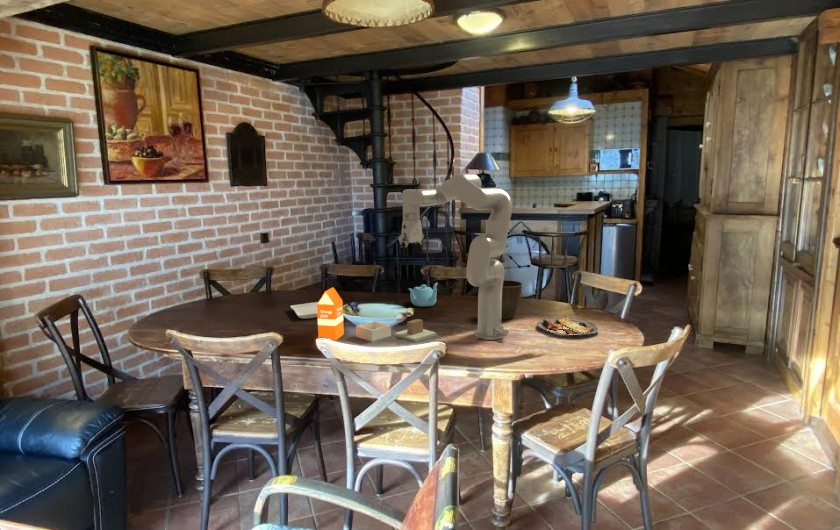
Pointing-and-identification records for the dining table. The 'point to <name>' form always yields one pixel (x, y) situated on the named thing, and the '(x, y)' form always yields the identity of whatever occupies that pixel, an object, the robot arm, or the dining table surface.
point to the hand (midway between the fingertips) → (411, 254)
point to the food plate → (567, 325)
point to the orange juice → (330, 315)
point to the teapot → (423, 295)
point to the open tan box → (373, 331)
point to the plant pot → (510, 298)
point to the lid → (415, 331)
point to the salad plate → (306, 310)
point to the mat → (414, 341)
